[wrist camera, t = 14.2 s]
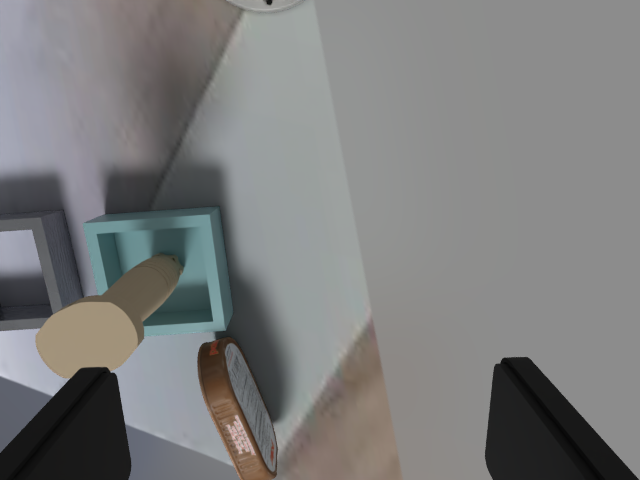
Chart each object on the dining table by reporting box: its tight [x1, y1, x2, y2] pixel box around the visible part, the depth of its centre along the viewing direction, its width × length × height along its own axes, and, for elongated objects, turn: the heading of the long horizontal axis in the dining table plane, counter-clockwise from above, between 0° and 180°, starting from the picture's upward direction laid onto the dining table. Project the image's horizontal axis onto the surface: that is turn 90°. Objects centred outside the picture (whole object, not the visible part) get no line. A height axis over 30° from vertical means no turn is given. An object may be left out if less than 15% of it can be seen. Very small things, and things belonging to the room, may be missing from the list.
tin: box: [197, 337, 278, 480], centre depth 42 cm, size 15×3×8 cm, turn 19°
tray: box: [83, 206, 233, 336], centre depth 40 cm, size 11×11×4 cm
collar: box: [0, 210, 83, 331], centre depth 40 cm, size 10×9×4 cm
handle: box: [36, 253, 184, 378], centre depth 34 cm, size 5×6×15 cm
